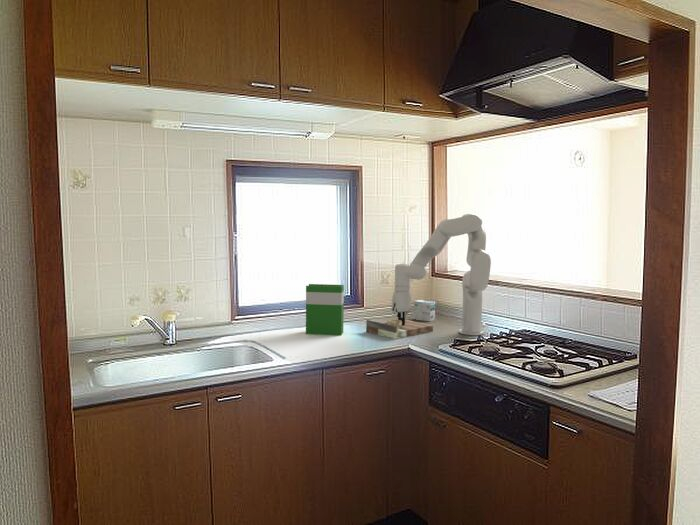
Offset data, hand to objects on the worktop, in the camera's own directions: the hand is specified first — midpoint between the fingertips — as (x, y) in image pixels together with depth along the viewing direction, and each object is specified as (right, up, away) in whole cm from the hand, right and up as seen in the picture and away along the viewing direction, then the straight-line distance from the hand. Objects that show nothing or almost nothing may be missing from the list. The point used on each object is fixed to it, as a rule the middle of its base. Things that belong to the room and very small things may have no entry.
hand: (401, 325), depth 261 cm
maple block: (-4, -1, -3) cm, 5 cm away
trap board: (0, -4, +4) cm, 5 cm away
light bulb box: (+17, -1, +36) cm, 40 cm away
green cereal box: (-38, -4, -1) cm, 39 cm away
